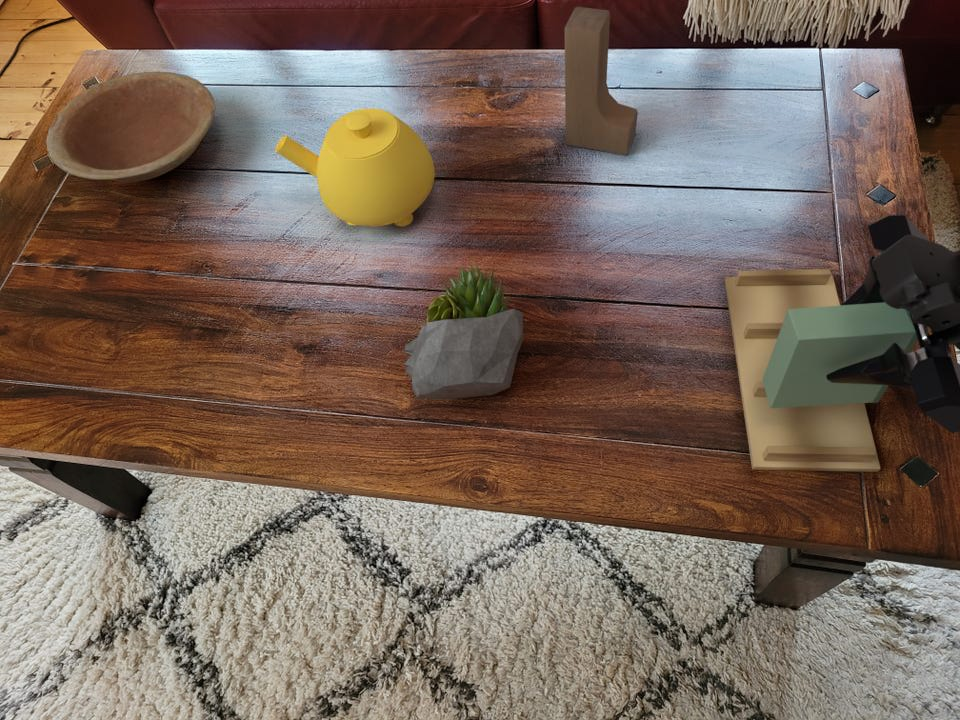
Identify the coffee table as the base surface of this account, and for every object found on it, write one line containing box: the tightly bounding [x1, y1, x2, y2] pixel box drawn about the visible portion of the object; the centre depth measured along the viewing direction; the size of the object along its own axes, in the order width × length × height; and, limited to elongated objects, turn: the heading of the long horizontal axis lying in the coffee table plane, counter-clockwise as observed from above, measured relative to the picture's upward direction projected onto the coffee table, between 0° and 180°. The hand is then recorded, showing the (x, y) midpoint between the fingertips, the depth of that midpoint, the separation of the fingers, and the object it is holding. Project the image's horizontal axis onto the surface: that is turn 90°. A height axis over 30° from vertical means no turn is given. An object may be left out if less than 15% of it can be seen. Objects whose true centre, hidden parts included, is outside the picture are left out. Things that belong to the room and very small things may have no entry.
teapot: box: [274, 107, 436, 227], centre depth 89 cm, size 20×16×14 cm
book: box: [762, 302, 918, 408], centre depth 64 cm, size 10×4×11 cm, turn 91°
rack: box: [724, 268, 881, 473], centre depth 74 cm, size 12×24×3 cm, turn 176°
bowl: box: [46, 71, 216, 183], centre depth 101 cm, size 24×24×8 cm
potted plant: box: [403, 263, 524, 401], centre depth 75 cm, size 12×13×15 cm
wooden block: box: [564, 6, 639, 156], centre depth 89 cm, size 9×4×18 cm, turn 69°
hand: (823, 354), depth 63 cm, fingers closed on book, 5 cm apart
